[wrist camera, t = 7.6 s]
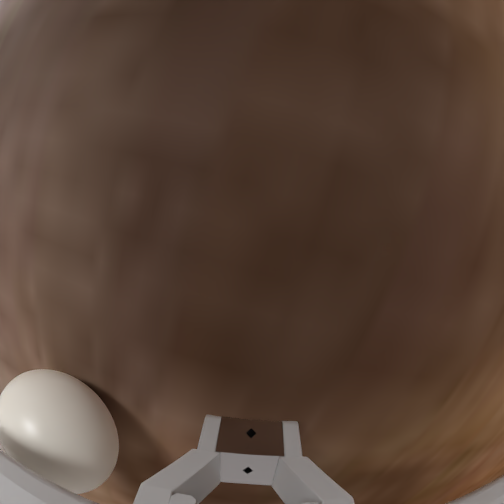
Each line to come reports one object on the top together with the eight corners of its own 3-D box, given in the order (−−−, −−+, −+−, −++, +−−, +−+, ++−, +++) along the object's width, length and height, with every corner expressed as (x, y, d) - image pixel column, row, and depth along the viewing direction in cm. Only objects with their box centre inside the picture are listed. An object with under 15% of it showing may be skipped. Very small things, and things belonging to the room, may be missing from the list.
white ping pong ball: (74, 536, 4) (161, 442, 8) (-46, 412, 4) (53, 327, 8) (68, 498, 7) (129, 435, 12) (-10, 415, 7) (56, 357, 11)
